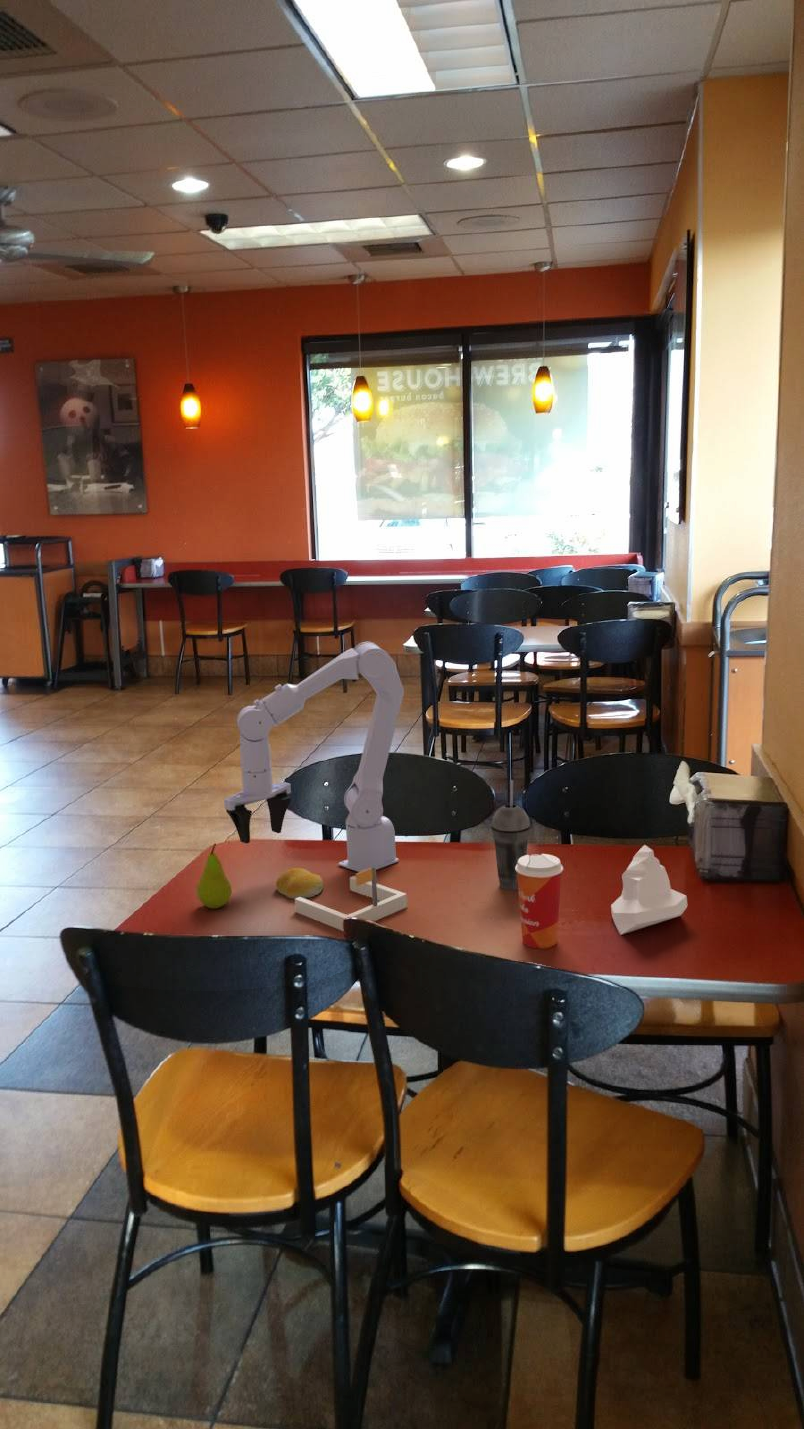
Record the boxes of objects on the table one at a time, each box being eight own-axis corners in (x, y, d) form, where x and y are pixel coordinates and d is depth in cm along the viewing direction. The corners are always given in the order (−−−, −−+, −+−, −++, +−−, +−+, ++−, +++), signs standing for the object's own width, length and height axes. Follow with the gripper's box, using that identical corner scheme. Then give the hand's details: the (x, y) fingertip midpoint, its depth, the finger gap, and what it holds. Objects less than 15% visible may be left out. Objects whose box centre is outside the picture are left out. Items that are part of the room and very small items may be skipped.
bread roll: (297, 904, 194) (296, 883, 193) (269, 891, 201) (268, 871, 200) (333, 891, 199) (332, 871, 198) (305, 879, 206) (304, 859, 205)
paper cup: (512, 933, 178) (511, 853, 175) (557, 930, 178) (557, 850, 175) (521, 953, 170) (520, 871, 167) (568, 950, 171) (568, 867, 168)
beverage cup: (487, 890, 196) (484, 786, 192) (498, 876, 203) (496, 775, 199) (525, 894, 194) (524, 789, 189) (535, 880, 200) (534, 778, 196)
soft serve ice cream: (588, 932, 180) (579, 848, 181) (654, 919, 188) (646, 839, 189) (638, 940, 170) (629, 850, 170) (706, 925, 177) (697, 840, 178)
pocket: (354, 888, 200) (352, 840, 198) (407, 906, 190) (405, 856, 188) (295, 911, 190) (292, 861, 188) (347, 932, 180) (344, 880, 178)
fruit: (190, 907, 194) (185, 845, 191) (217, 897, 198) (212, 835, 196) (213, 916, 190) (208, 852, 187) (240, 904, 194) (235, 842, 191)
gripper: (273, 757, 211) (277, 823, 214) (212, 773, 201) (217, 842, 204) (296, 763, 206) (300, 830, 209) (235, 780, 196) (240, 850, 199)
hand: (260, 836), depth 206 cm, fingers open, 7 cm apart
